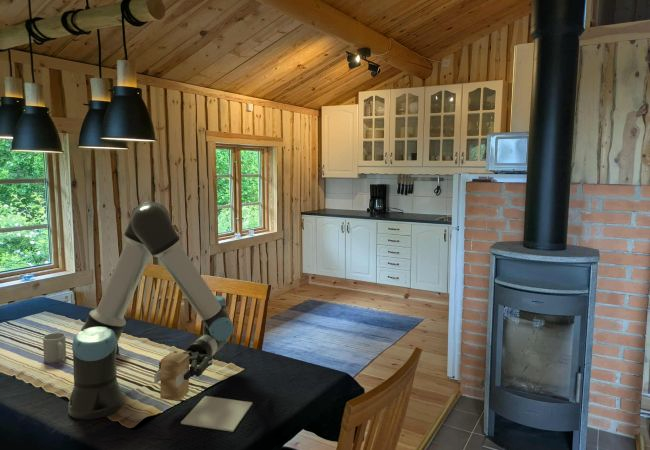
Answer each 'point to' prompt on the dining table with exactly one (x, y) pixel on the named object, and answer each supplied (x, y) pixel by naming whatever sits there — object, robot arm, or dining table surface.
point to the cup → (54, 347)
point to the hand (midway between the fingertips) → (166, 380)
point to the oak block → (173, 376)
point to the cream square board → (217, 413)
